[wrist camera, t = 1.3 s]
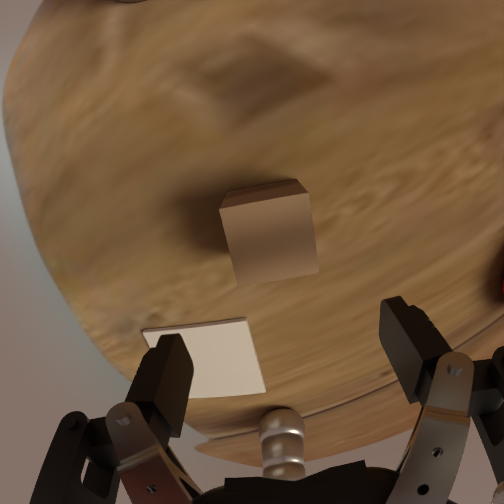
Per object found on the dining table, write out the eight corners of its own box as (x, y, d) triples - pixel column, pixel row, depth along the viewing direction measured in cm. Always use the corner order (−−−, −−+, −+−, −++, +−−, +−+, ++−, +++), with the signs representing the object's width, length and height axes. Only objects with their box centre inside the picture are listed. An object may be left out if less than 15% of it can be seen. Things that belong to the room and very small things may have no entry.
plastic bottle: (312, 409, 36) (329, 534, 18) (285, 430, 38) (293, 543, 20) (274, 398, 35) (280, 536, 17) (249, 420, 37) (246, 542, 19)
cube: (227, 191, 24) (219, 209, 19) (296, 178, 24) (308, 192, 18) (241, 254, 27) (238, 287, 21) (305, 242, 26) (318, 272, 21)
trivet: (144, 329, 30) (142, 332, 30) (246, 317, 29) (246, 320, 29) (179, 395, 35) (178, 398, 35) (265, 388, 34) (266, 392, 34)
